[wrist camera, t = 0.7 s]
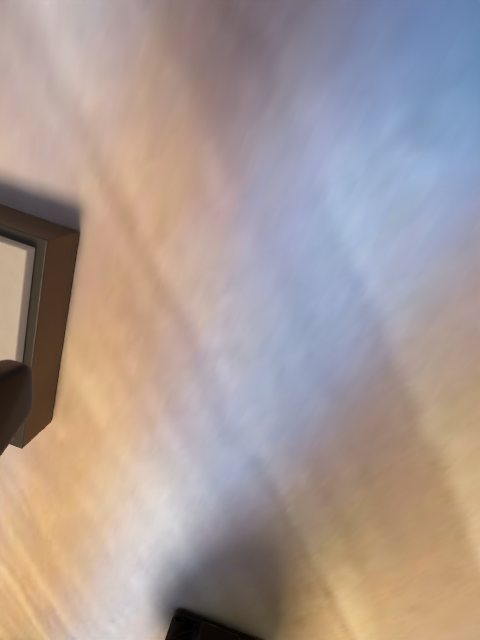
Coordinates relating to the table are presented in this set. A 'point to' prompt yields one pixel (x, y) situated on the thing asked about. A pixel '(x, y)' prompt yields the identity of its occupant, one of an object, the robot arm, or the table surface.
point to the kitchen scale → (35, 304)
